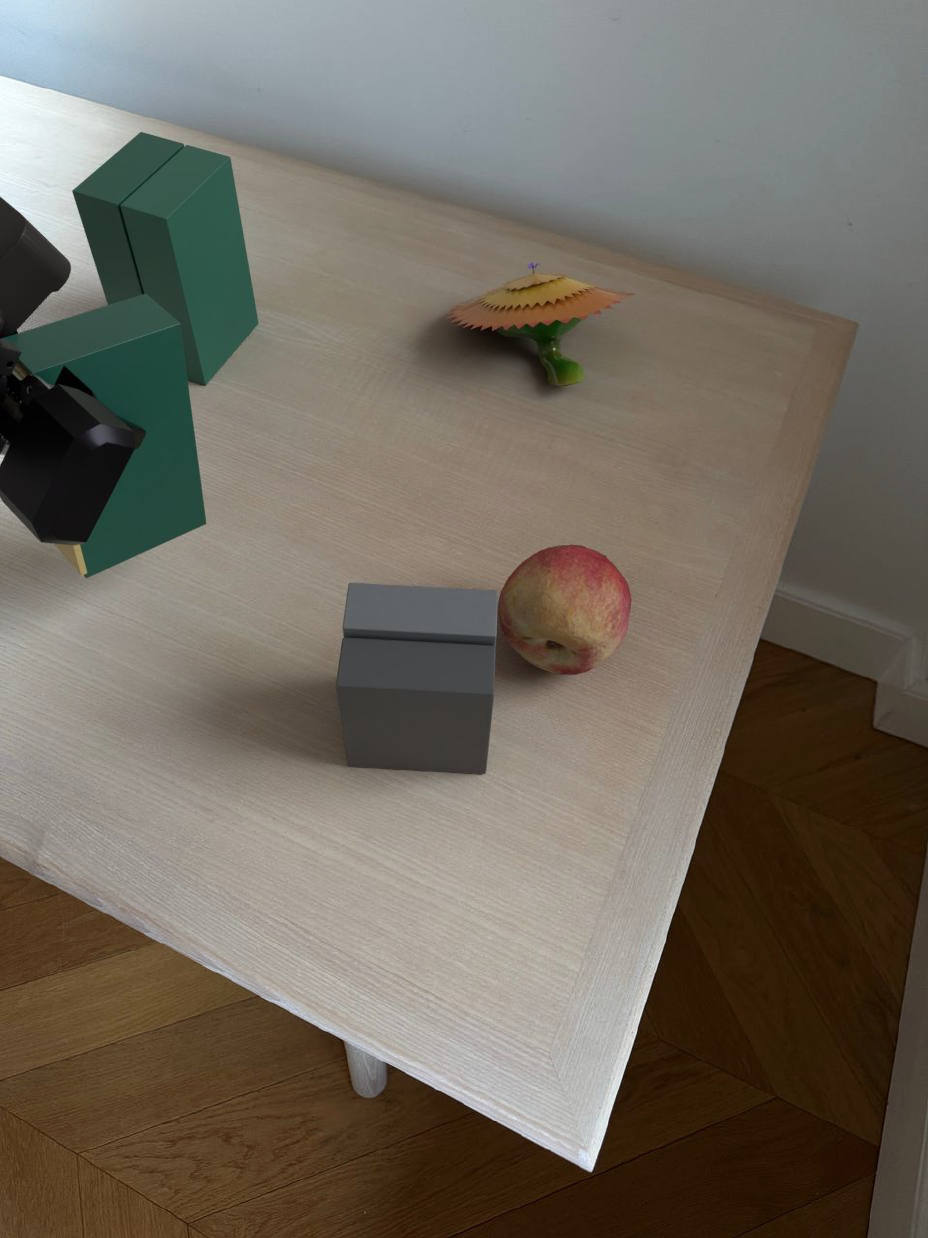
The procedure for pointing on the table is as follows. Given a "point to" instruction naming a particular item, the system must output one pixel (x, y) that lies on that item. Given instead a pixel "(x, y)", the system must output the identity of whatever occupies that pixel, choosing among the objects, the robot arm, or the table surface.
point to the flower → (540, 315)
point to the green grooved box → (173, 243)
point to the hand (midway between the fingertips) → (120, 419)
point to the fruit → (565, 609)
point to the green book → (143, 394)
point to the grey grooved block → (417, 677)
